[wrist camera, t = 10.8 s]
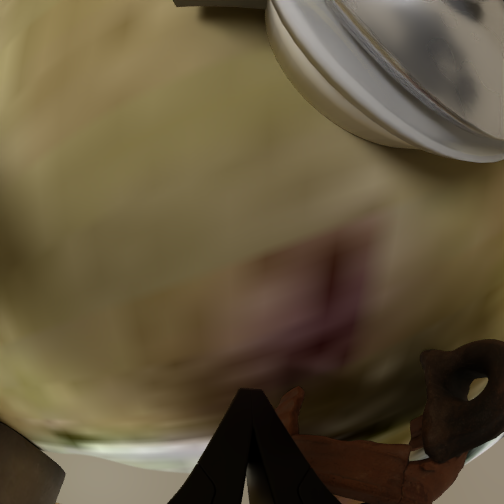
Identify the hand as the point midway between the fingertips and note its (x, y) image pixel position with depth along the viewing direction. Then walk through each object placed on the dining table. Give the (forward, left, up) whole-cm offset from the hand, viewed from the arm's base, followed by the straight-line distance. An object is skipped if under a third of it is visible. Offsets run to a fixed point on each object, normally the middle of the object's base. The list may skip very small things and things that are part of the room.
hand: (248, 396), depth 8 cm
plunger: (+3, +12, +2) cm, 13 cm away
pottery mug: (+6, -2, -2) cm, 7 cm away
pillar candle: (-21, -21, -2) cm, 30 cm away
